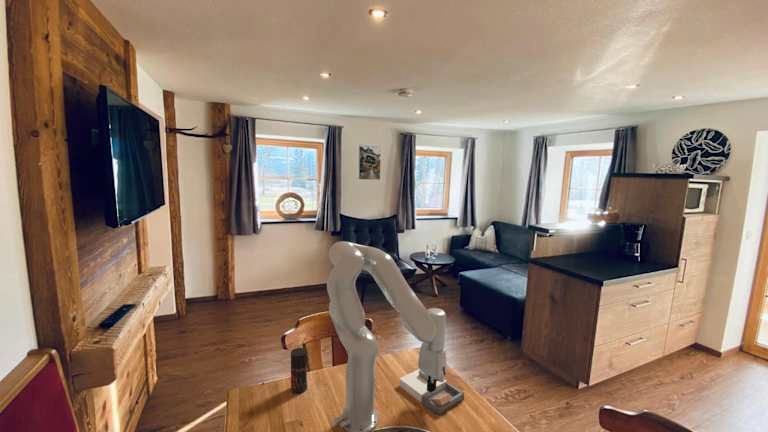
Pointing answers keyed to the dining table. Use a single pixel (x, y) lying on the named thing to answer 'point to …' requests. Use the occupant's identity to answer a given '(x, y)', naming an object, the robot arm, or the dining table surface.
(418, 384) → the board
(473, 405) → the dining table surface
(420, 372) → the slate tile
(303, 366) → the deodorant
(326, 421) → the dining table surface
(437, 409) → the tray
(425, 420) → the dining table surface
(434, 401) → the terracotta tile
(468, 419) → the dining table surface
